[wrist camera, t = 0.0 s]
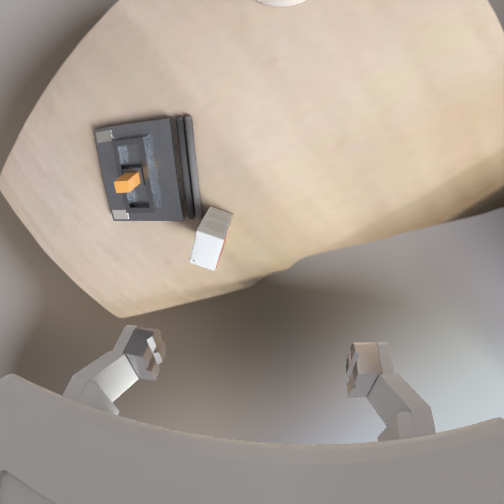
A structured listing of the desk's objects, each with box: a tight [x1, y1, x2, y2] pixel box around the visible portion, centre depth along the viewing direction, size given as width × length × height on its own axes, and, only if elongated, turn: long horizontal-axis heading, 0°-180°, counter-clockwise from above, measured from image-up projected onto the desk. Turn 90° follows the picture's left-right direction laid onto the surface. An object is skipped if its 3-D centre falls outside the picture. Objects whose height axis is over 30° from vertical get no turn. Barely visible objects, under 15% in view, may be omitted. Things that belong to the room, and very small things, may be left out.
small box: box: [189, 207, 234, 271], centre depth 61 cm, size 8×6×10 cm
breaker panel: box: [94, 117, 186, 221], centre depth 58 cm, size 22×18×4 cm
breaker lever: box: [114, 166, 145, 193], centre depth 55 cm, size 4×4×6 cm
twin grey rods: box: [176, 115, 202, 219], centre depth 58 cm, size 22×3×1 cm, turn 2°
